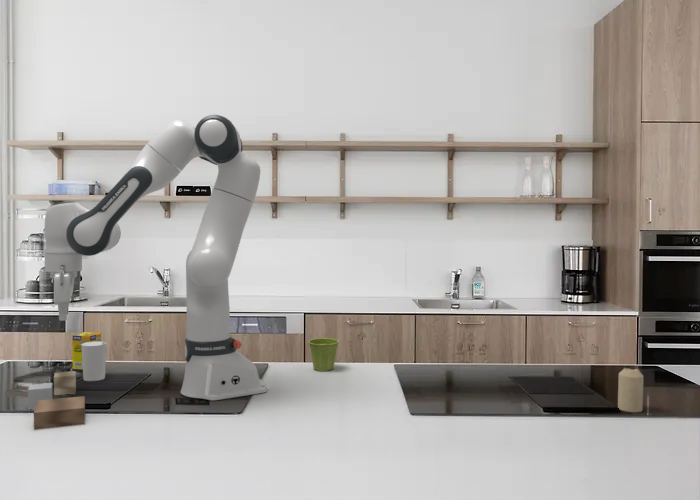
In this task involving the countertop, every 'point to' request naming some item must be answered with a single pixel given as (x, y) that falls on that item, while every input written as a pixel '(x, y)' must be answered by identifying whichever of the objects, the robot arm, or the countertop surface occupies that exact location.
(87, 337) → the supplement box
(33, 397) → the grey block
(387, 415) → the countertop surface
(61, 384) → the ash block
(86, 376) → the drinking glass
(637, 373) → the beige jar
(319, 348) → the plant pot
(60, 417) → the walnut block
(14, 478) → the countertop surface
